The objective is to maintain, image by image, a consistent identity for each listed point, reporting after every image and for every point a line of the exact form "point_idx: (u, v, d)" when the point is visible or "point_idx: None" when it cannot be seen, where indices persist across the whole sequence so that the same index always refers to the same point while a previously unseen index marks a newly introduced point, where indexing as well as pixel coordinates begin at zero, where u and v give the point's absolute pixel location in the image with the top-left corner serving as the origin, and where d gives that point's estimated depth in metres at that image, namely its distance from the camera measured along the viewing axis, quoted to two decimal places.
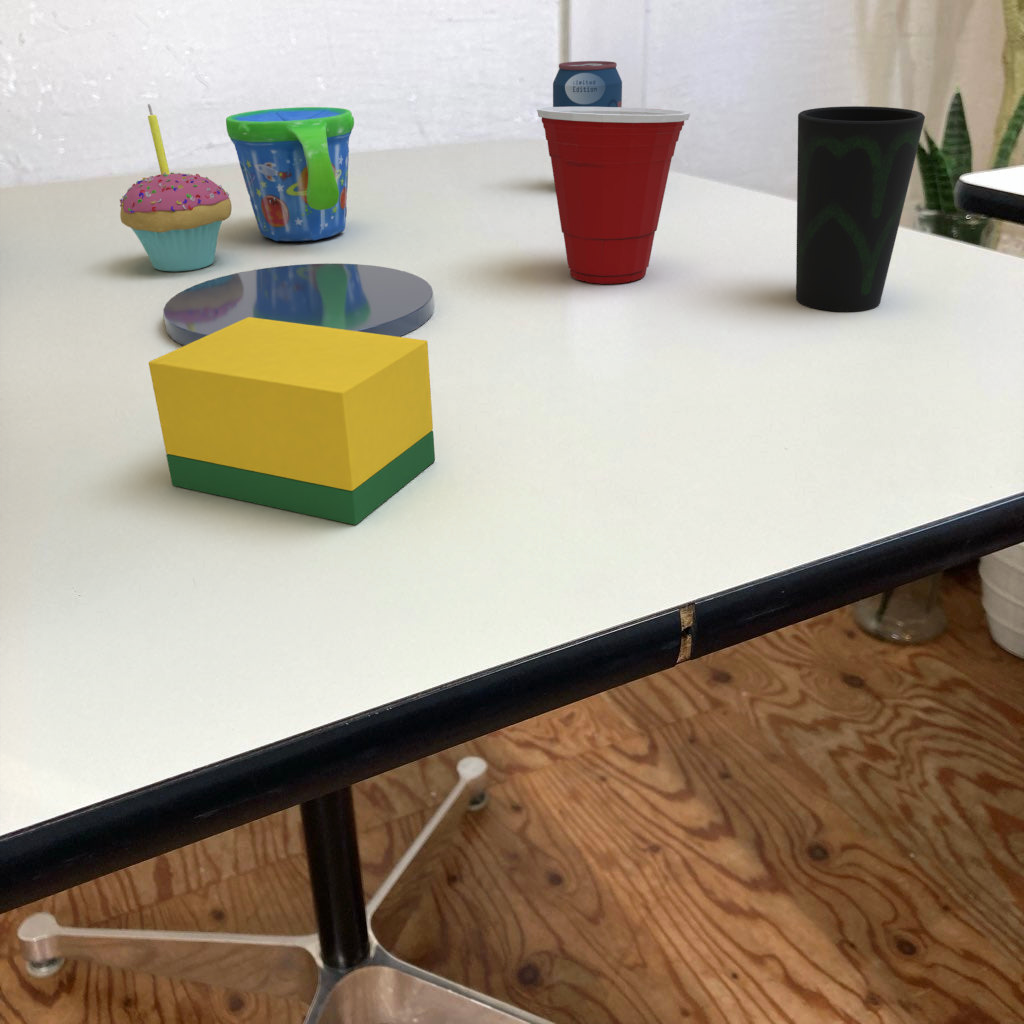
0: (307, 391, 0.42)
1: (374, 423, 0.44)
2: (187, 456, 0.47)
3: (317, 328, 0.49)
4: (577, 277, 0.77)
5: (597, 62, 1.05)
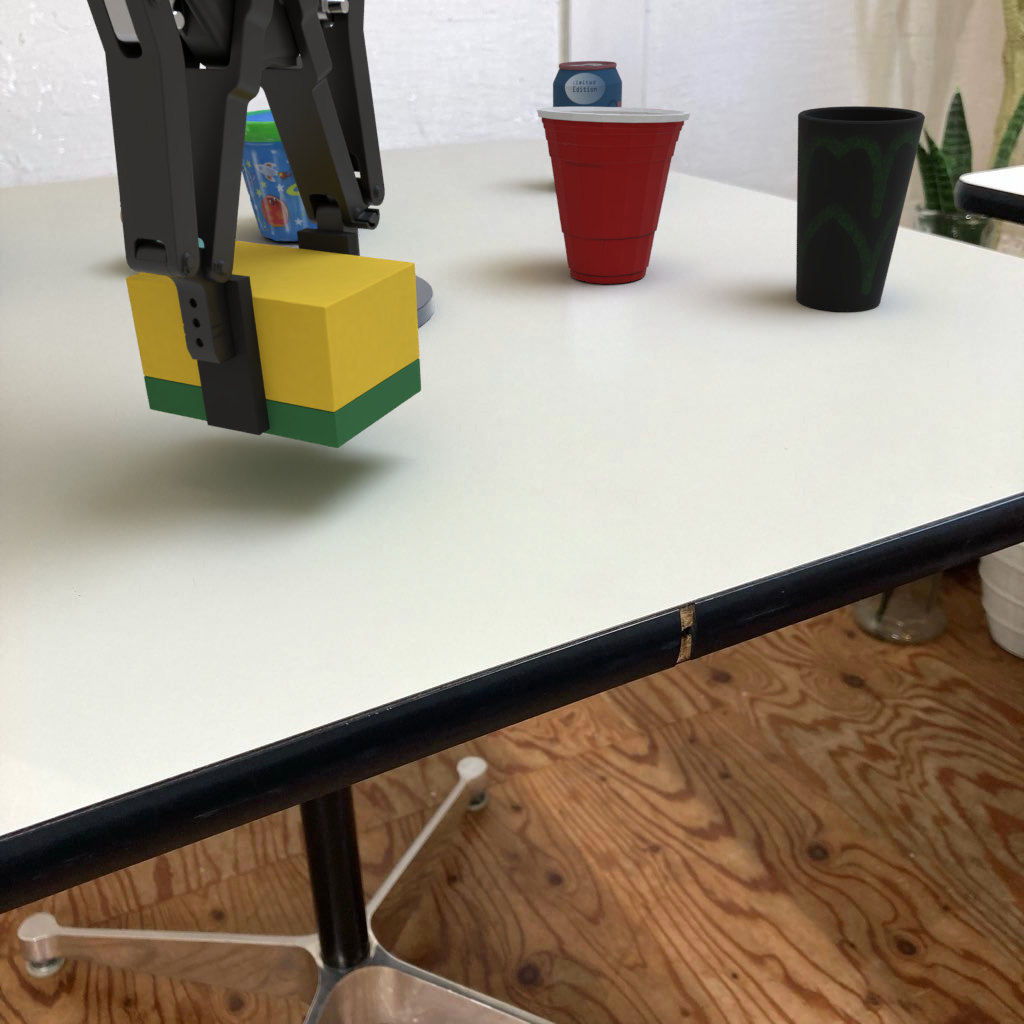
0: (288, 306, 0.41)
1: (358, 343, 0.43)
2: (165, 378, 0.45)
3: (301, 250, 0.47)
4: (577, 277, 0.77)
5: (597, 62, 1.05)
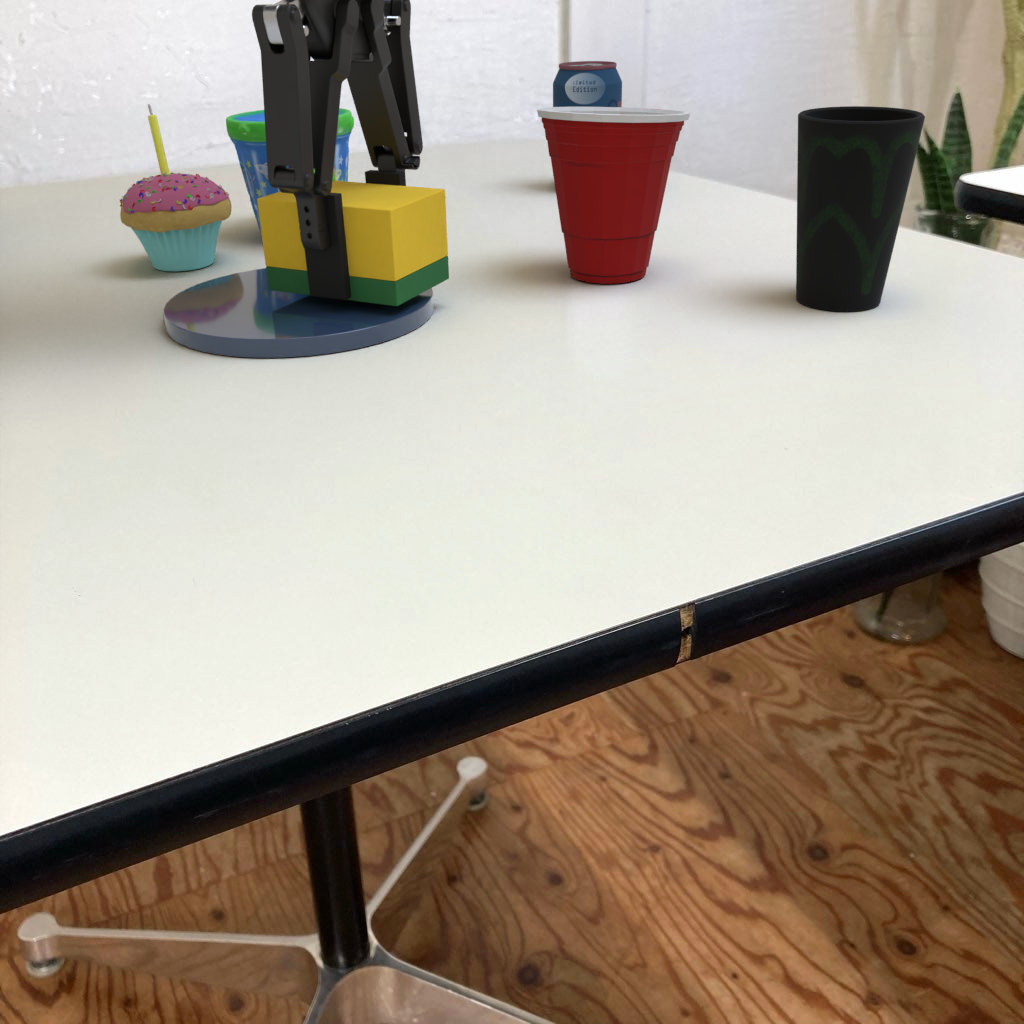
0: (367, 211, 0.64)
1: (409, 237, 0.66)
2: (280, 266, 0.68)
3: (368, 184, 0.70)
4: (577, 277, 0.77)
5: (597, 62, 1.05)
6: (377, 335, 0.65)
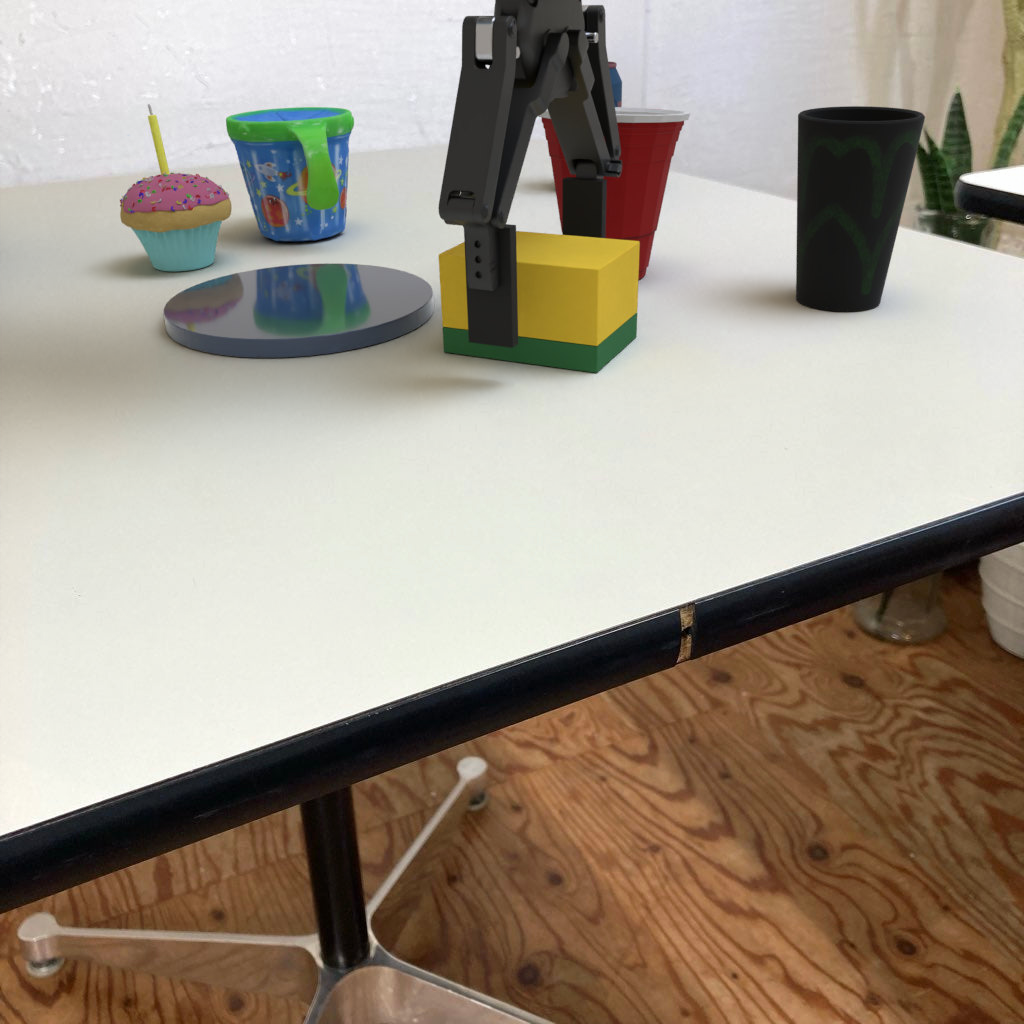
0: (570, 270, 0.58)
1: (610, 297, 0.59)
2: (460, 327, 0.62)
3: (550, 235, 0.64)
4: None
5: None
6: (377, 335, 0.65)
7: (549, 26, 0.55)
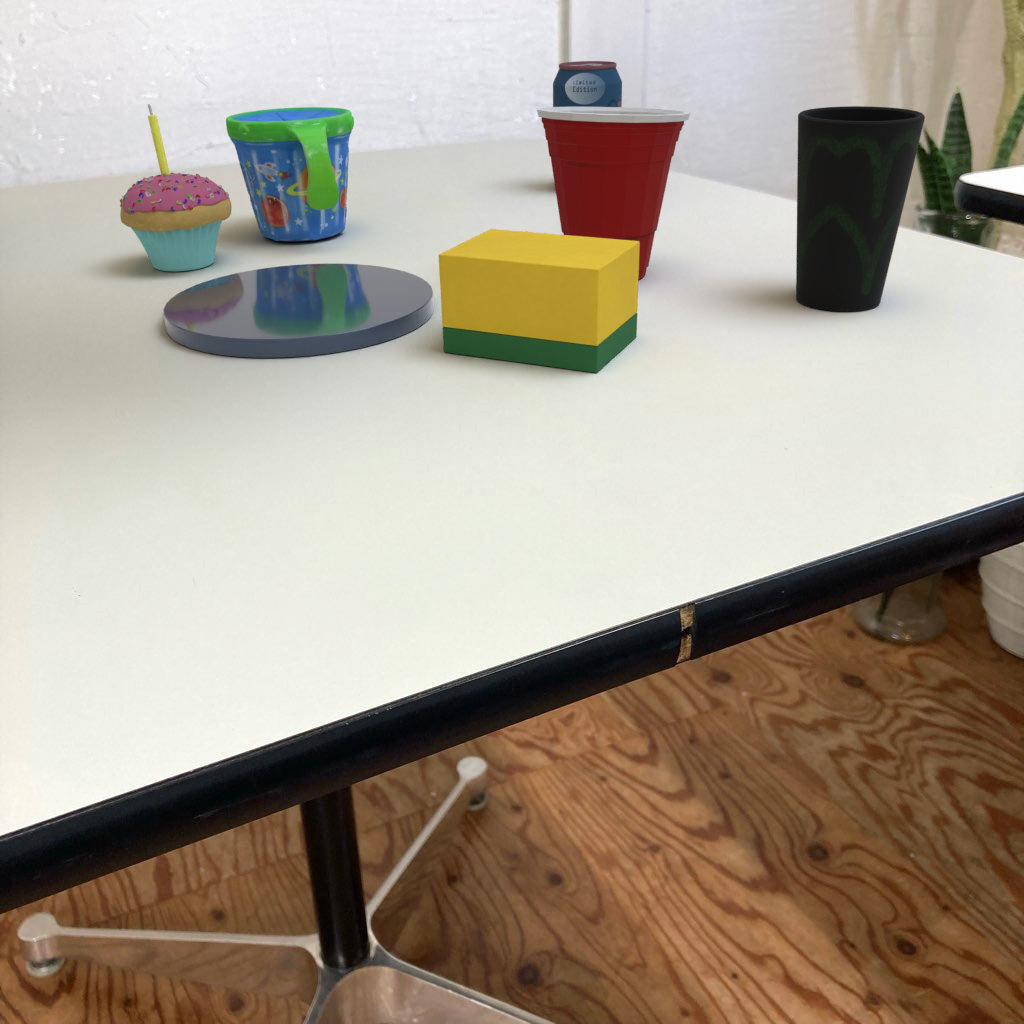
0: (570, 270, 0.58)
1: (610, 297, 0.59)
2: (460, 327, 0.62)
3: (550, 235, 0.64)
4: None
5: (597, 62, 1.05)
6: (377, 335, 0.65)
7: None
